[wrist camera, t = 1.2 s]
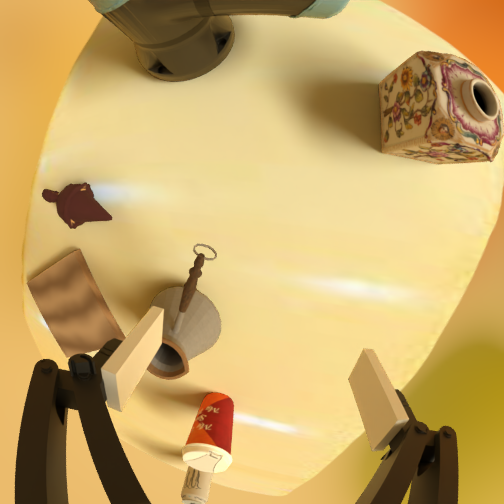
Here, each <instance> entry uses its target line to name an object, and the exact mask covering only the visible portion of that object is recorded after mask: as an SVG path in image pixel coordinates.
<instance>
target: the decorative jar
mask: <svg viewBox="0 0 504 504" xmlns="http://www.w3.org/2000/svg"><path fill="white" fill-rule="evenodd" d="M379 96H380V109H381V136H382V137H381V145H382V147H381V151H382V153H385V154H392V155H396V156H402V157H406V158H412V159H416V160H420V161H425V162H430V163H435V164H455V163H471V162H485V161H490V162H492V161H493V160H494V158H495V156H496V155H497V154H498V149H499V148H500V143H501V140H502V138H503V136H504V125H503V115H502V110H501V106H500V101H499V99H498V97H497V95H496V93H495V91H494V90H493V88H492V86H491V84H490V83H489V81H488V80H487V78H486V77H485V76H484V75H483V73H482V72H481V70H480V69H479V68H478V67H477V66H475V65H473V64H472V63H470V62H468V61H467V60H465V59H463V58H460V57H457V56H455V55H452V54H442V53H437V52H430V51H419V52H416V53H415V54H414V55H412V56H411V57H410V58H408V59H407V60H406V61H405V62H403V63H402V64H401V65H400V66H399V67H398V68H396V69H395V70H394V71H392V72H391V73H390V74H389V75H387V76H386V77H385V78H384V79H383V80H382V81H381V82H380V84H379Z"/></svg>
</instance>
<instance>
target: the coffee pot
mask: <svg viewBox="0 0 504 504" xmlns="http://www.w3.org/2000/svg"><path fill="white" fill-rule="evenodd" d="M197 246H204V247H208V248H209V249H211V250H212V251H213V252H214V253H215V257H214V258H205V256H204V254H202V253H200V254H198V253H197V252H196V251H195V247H197ZM193 251H194V252H195V254H196V255H197V258H196V259H195V261H194V267H192V268H191V269H190V270H189V274H190V276H189V278H188V280H187V282H186V283H185V285H184V287H172V288H168V289H166V290H164V291H162V292H160V293H159V294H158V295H157V296H156V297H155V298H154V299H153V301H152V303H151V305H150V308H151V307H152V306H156V307H159V308H163V309H164V315H163V330H162V344H161V346H160V347H159V349H158V351H157V352H156V354H155V356H154V357H153V359H152V361H151V362H150V364H149V366H148V367H147V370H148V371H149V372H150V373H152V374H153V375H155V376H157V377H160V378H162V379H168V380H171V379H177V378H180V377H182V376H184V375H185V374H187V373H188V372H189V365H188V360H190V359H192V358H194V357H196V356H197V355H199V354H201V353H203V352H205V351H206V350H208V349H209V348H211V347H212V346H213V345H214V344H215V342H216V341H217V340H218V338H219V335H220V332H221V319H220V316H219V312H218V311H217V309H216V307H215V306H214V304H213V303H212V302H211V301H210V300H209V299H208V297H207V296H205V295H204V294H202V293H201V292H199V291H197V290H196V285H197V280H198V278H199V277H200V276H201V275H202V272H201V270H200V269H201V267H202V266H203V264H204V259H205V260H214V259H215V258H216V257H217V253H216V252H215V250H214V249H213V248H211V247H210V246H208V245H204V244H197V245H195V246H194V250H193Z"/></svg>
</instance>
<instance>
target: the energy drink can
mask: <svg viewBox="0 0 504 504" xmlns="http://www.w3.org/2000/svg"><path fill="white" fill-rule="evenodd" d="M212 474H213V473H210V472H203V471H199V470H197V469H194V468H192V467H190V466H189V467H188V470H187V474H186V478H185V482H184V486H183V489H182V493H181V497H182V502H183V503H184V504H205V503H206V502H207V500H208V495H209V489H210V485H211V480H212Z"/></svg>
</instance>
